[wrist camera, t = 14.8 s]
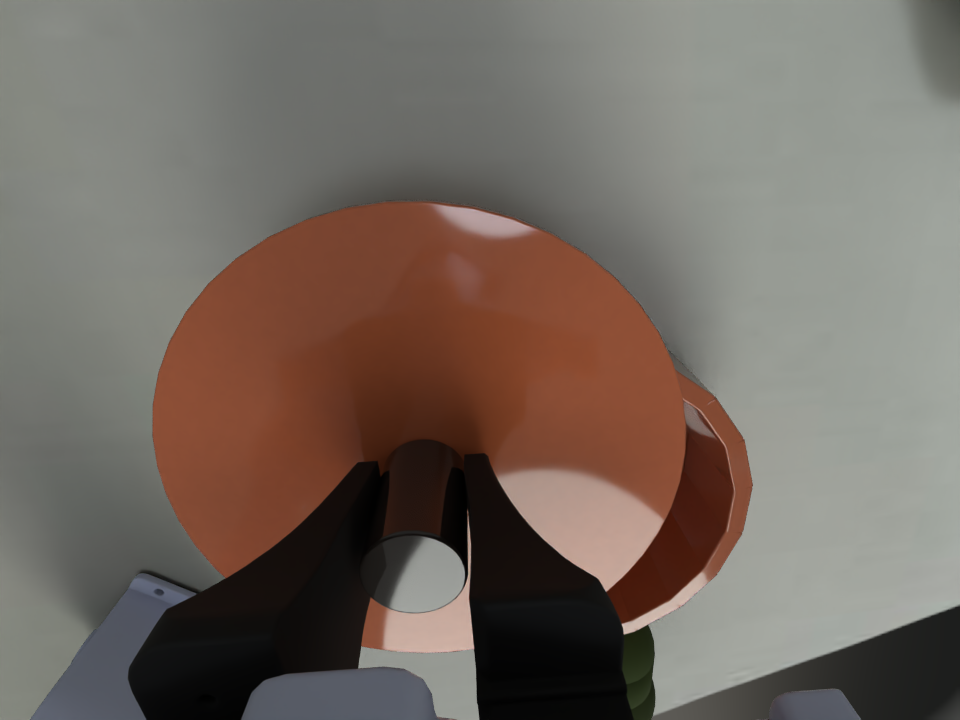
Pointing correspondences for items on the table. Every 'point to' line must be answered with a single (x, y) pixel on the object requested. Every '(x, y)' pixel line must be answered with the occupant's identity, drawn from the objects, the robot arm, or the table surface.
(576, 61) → the table surface
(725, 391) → the table surface
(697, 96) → the table surface
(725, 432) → the pot
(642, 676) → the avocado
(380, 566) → the lid
